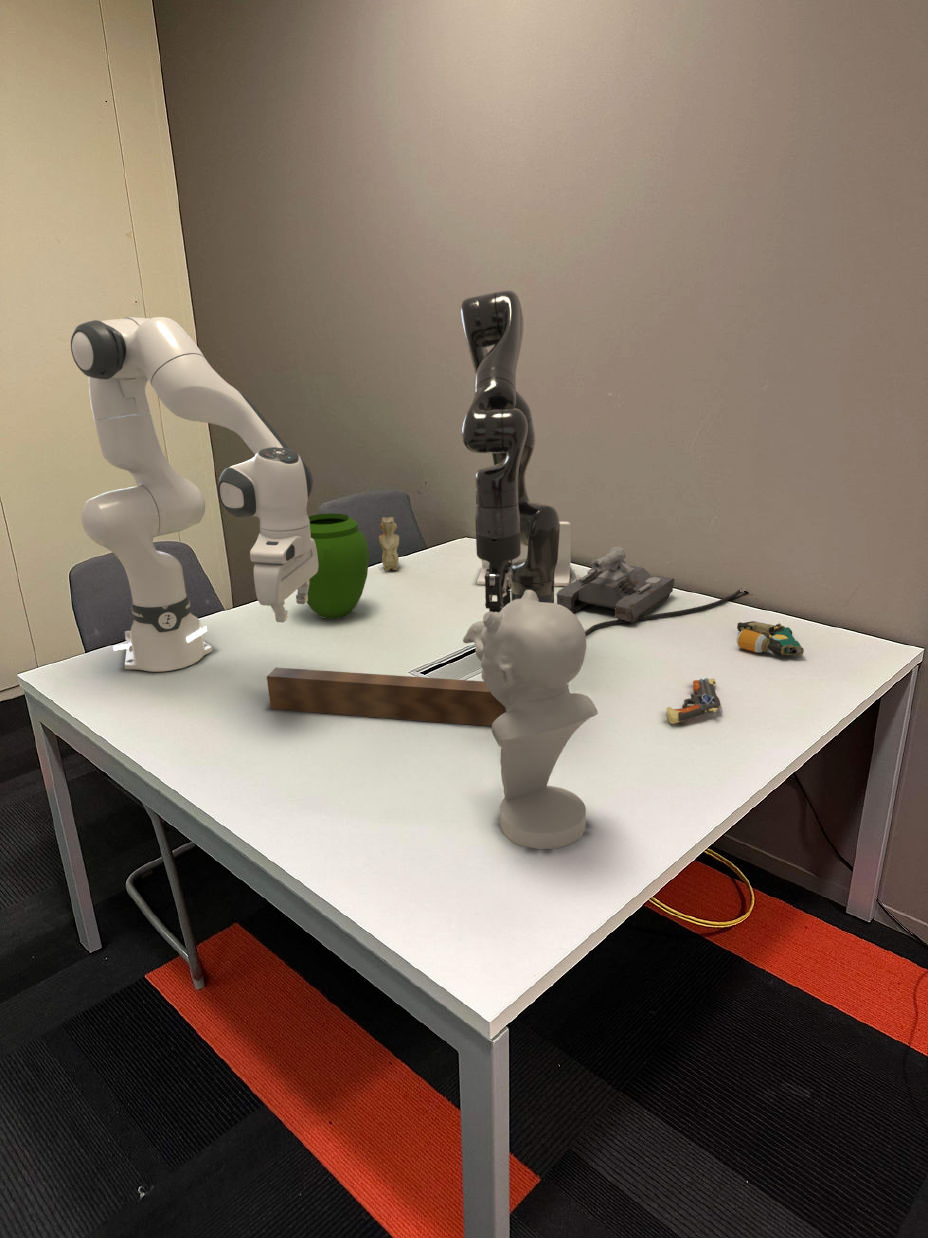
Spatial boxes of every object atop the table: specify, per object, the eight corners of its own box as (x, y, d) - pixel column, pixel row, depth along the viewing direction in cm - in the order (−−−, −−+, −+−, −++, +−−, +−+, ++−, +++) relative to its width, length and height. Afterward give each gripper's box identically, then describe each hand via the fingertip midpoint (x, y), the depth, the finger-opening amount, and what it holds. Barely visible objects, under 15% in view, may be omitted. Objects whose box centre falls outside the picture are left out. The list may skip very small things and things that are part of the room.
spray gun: (738, 629, 198) (807, 640, 192) (727, 651, 184) (801, 664, 178) (740, 612, 197) (810, 622, 191) (729, 633, 182) (804, 645, 176)
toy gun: (667, 713, 153) (725, 711, 151) (663, 676, 171) (714, 673, 169) (668, 727, 154) (725, 725, 151) (664, 689, 171) (715, 686, 169)
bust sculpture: (526, 759, 144) (526, 560, 132) (615, 831, 124) (624, 605, 112) (442, 785, 137) (433, 578, 125) (521, 866, 117) (520, 629, 105)
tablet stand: (569, 585, 229) (570, 524, 223) (476, 584, 232) (475, 523, 226) (570, 566, 246) (571, 508, 240) (484, 564, 249) (483, 507, 243)
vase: (389, 608, 216) (383, 514, 208) (339, 633, 201) (330, 533, 192) (330, 596, 226) (322, 506, 218) (278, 619, 211) (267, 523, 202)
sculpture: (401, 564, 252) (398, 514, 246) (400, 571, 245) (397, 520, 240) (381, 565, 251) (378, 515, 246) (380, 572, 245) (377, 521, 239)
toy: (603, 584, 229) (605, 530, 224) (673, 597, 218) (677, 540, 213) (555, 612, 210) (556, 553, 205) (630, 627, 199) (633, 566, 194)
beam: (533, 718, 158) (533, 684, 156) (530, 729, 154) (530, 694, 152) (279, 699, 169) (275, 667, 166) (270, 709, 165) (266, 676, 163)
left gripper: (292, 524, 164) (298, 591, 169) (244, 555, 145) (252, 630, 150) (323, 525, 162) (328, 594, 168) (279, 557, 144) (286, 633, 149)
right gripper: (483, 518, 151) (486, 604, 157) (467, 541, 138) (471, 633, 144) (525, 518, 150) (527, 605, 156) (513, 541, 137) (515, 635, 143)
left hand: (292, 611), depth 159 cm, fingers open, 8 cm apart
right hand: (500, 618), depth 150 cm, fingers open, 8 cm apart
